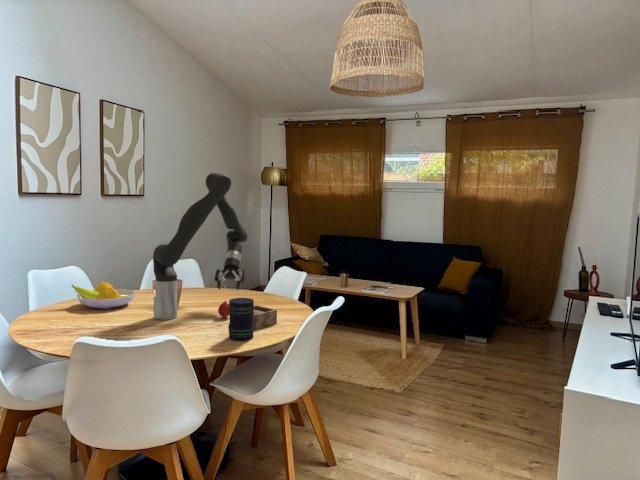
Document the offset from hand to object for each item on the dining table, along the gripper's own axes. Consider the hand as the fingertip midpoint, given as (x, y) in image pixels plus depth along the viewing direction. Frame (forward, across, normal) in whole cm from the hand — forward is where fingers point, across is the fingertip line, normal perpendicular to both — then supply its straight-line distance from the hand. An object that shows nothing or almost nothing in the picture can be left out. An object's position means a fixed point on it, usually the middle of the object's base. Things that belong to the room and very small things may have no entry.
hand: (228, 288), depth 217 cm
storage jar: (+34, +12, -17) cm, 40 cm away
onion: (+14, 0, +3) cm, 15 cm away
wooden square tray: (+20, +15, -3) cm, 25 cm away
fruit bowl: (+1, -63, +16) cm, 65 cm away
